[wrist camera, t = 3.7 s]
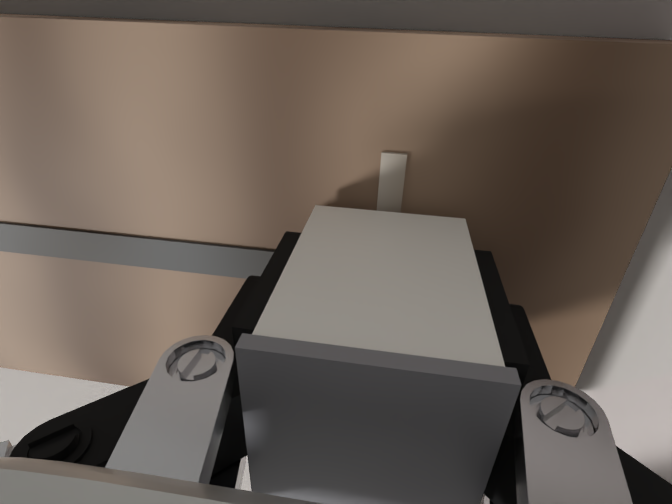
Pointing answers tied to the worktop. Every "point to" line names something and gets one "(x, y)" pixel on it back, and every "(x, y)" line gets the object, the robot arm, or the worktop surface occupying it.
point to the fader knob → (376, 366)
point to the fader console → (306, 169)
